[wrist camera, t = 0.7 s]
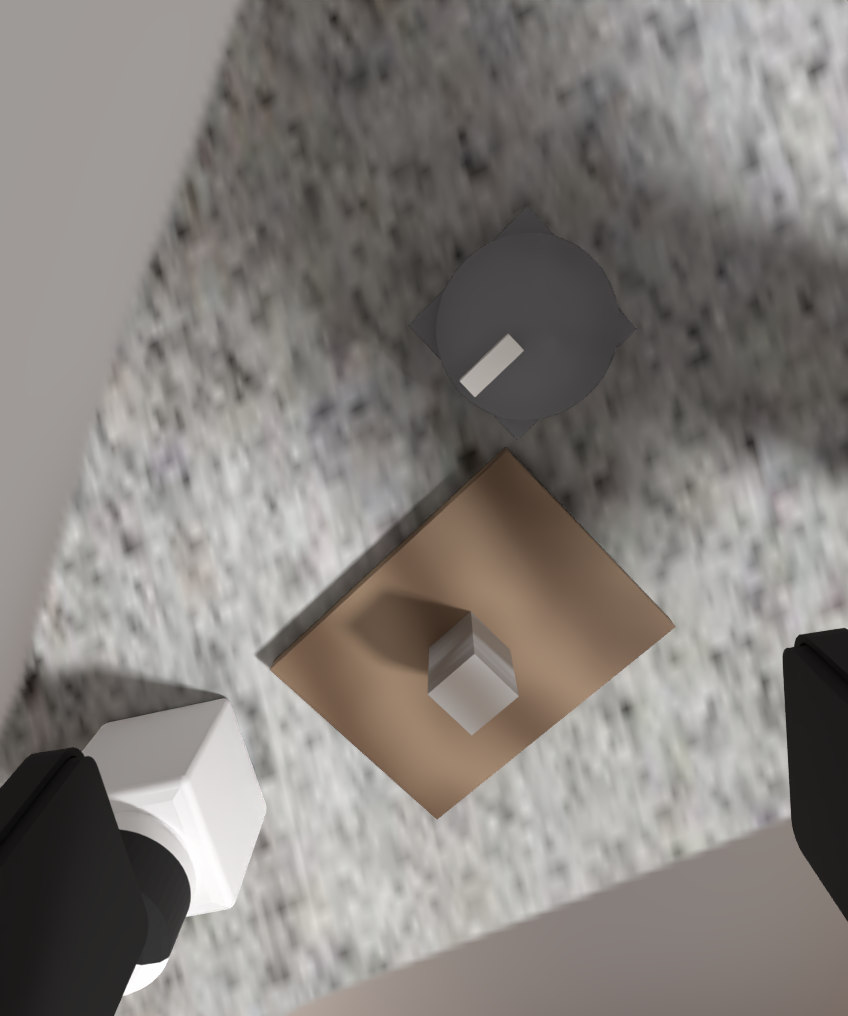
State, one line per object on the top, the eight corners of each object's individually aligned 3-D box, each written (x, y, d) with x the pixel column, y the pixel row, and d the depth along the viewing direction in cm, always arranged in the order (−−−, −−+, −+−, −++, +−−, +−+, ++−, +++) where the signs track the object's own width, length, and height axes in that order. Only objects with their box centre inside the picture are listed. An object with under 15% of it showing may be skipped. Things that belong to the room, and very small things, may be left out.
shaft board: (505, 446, 36) (516, 473, 30) (669, 618, 38) (706, 671, 32) (274, 660, 39) (247, 718, 34) (437, 807, 41) (436, 883, 36)
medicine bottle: (101, 721, 40) (-36, 894, 29) (230, 694, 40) (142, 859, 28) (146, 833, 42) (34, 1037, 30) (269, 809, 41) (202, 1008, 30)
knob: (516, 211, 33) (536, 188, 26) (615, 324, 34) (661, 332, 27) (406, 320, 34) (397, 328, 27) (506, 425, 35) (522, 459, 28)
